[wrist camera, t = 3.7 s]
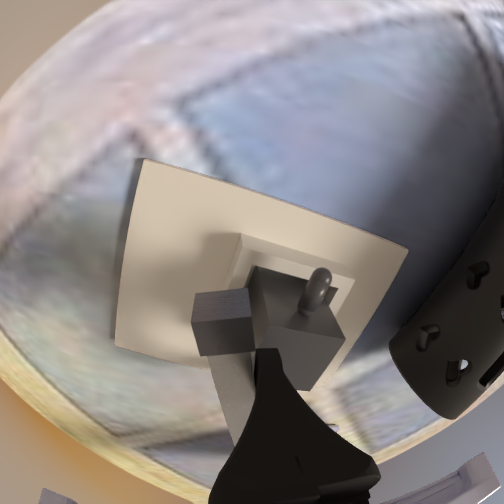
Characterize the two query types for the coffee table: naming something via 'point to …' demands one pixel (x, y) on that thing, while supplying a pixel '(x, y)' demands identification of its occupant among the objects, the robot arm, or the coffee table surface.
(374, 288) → the socket base
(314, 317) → the plug
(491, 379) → the muzzle brake
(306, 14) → the coffee table surface
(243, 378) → the clip
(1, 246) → the coffee table surface
